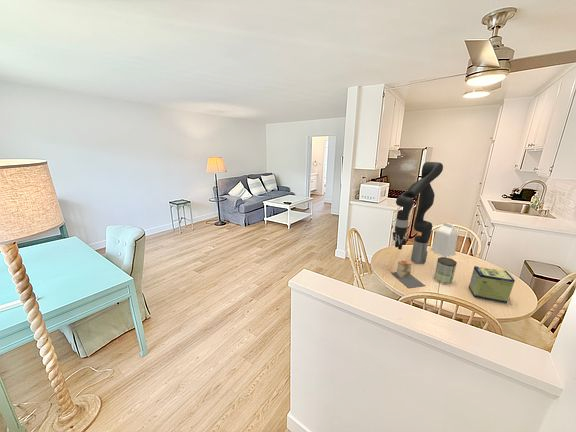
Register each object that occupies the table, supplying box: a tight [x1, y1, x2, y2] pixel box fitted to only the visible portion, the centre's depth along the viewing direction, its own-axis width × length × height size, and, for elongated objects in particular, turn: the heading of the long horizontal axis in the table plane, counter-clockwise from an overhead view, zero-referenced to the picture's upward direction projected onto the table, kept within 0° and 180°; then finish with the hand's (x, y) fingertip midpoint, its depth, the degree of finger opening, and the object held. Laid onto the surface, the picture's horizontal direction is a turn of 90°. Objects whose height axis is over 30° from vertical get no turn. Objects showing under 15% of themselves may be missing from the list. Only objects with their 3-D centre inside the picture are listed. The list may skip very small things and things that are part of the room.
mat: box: [391, 271, 426, 289], centre depth 149 cm, size 12×18×1 cm, turn 10°
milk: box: [430, 222, 459, 258], centre depth 180 cm, size 12×12×26 cm
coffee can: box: [433, 256, 458, 285], centre depth 146 cm, size 10×10×14 cm
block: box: [396, 259, 413, 277], centre depth 152 cm, size 7×4×10 cm, turn 99°
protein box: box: [468, 265, 516, 304], centre depth 130 cm, size 10×16×16 cm
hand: (398, 248), depth 157 cm, fingers open, 3 cm apart
